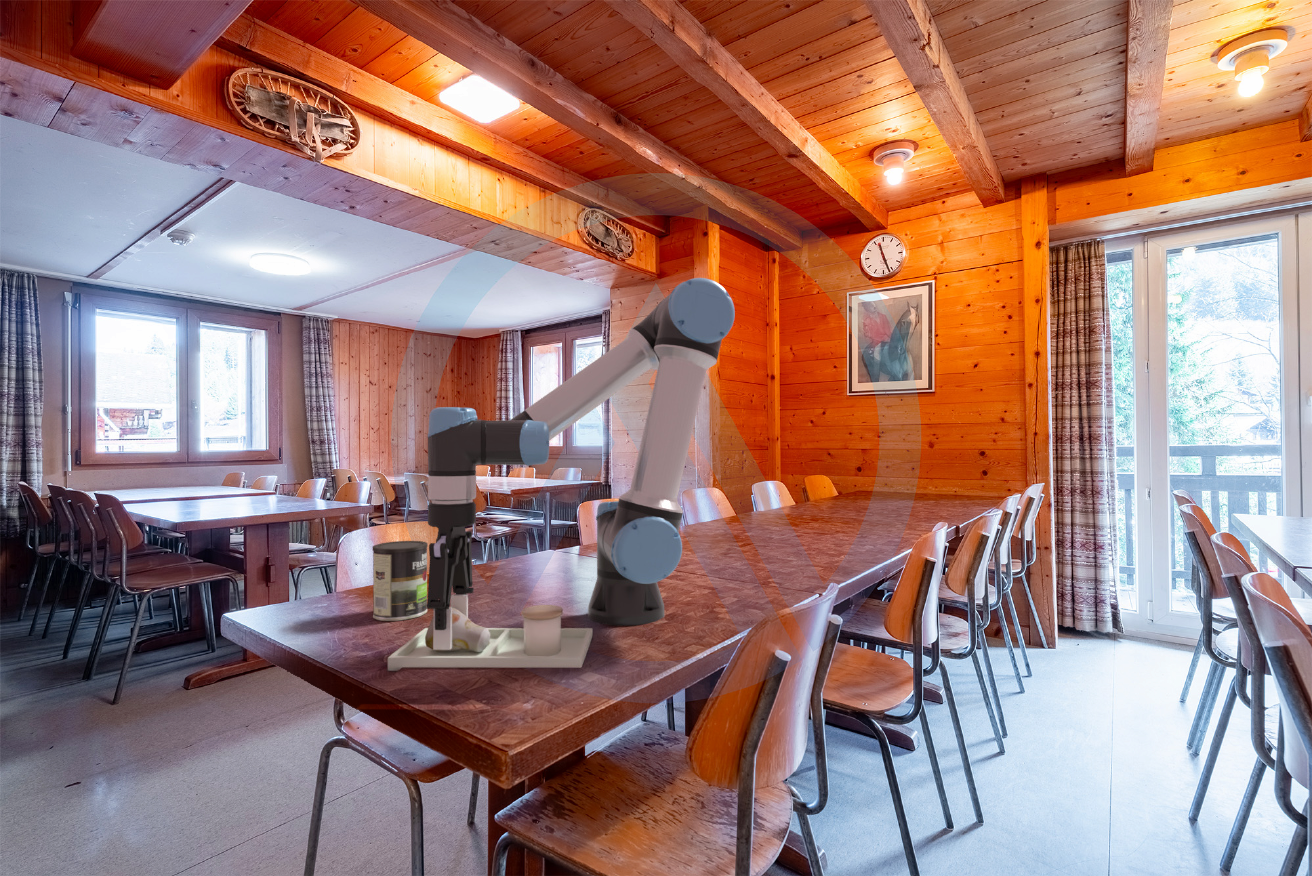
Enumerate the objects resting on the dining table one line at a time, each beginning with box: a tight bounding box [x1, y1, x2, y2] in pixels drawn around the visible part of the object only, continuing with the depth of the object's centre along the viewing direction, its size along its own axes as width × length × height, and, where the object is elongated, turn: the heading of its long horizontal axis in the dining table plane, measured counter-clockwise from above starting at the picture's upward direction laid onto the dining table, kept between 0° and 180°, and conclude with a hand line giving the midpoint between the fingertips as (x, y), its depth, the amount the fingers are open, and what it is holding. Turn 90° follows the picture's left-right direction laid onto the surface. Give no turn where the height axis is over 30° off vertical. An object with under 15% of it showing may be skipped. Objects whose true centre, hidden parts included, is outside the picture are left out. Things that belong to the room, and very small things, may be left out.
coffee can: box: [372, 540, 429, 622], centre depth 122 cm, size 10×10×14 cm
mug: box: [425, 607, 490, 652], centre depth 99 cm, size 8×10×10 cm
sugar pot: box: [521, 604, 564, 656], centre depth 99 cm, size 7×7×7 cm
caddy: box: [387, 627, 593, 672], centre depth 99 cm, size 30×15×2 cm, turn 89°
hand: (451, 640), depth 99 cm, fingers closed on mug, 7 cm apart
